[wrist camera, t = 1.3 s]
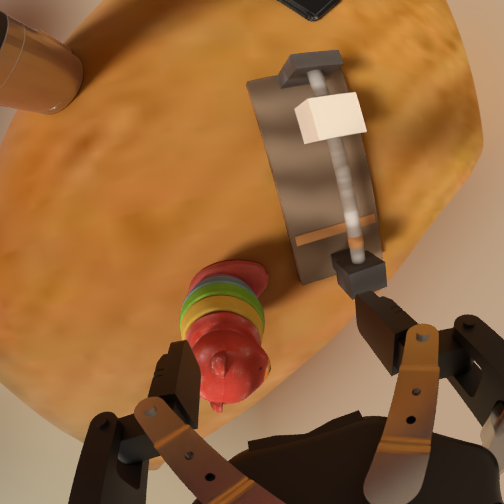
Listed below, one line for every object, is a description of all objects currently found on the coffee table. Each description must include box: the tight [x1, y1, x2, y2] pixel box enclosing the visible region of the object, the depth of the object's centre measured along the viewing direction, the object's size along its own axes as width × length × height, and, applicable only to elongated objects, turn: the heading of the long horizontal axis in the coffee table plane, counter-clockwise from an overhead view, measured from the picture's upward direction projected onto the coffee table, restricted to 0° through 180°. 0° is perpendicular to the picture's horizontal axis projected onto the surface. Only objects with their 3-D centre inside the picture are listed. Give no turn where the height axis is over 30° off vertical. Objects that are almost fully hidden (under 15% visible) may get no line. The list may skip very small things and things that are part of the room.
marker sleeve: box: [294, 92, 367, 144], centre depth 25 cm, size 4×5×5 cm
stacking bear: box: [180, 260, 271, 413], centre depth 29 cm, size 11×10×18 cm
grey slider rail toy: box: [246, 50, 387, 300], centre depth 29 cm, size 26×12×9 cm, turn 16°
